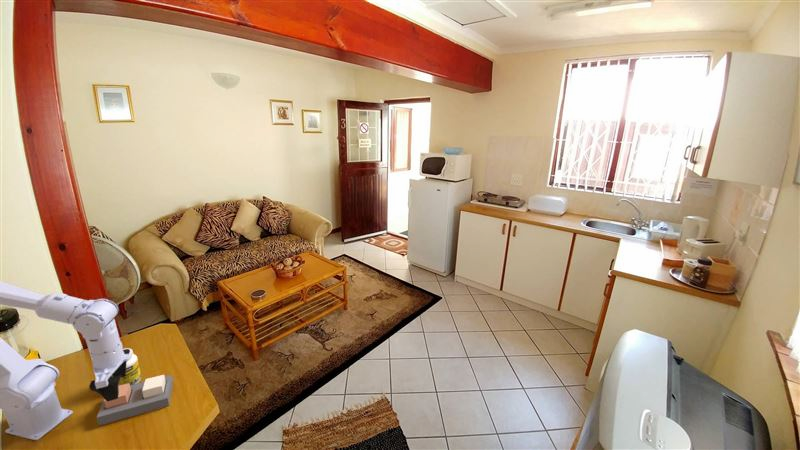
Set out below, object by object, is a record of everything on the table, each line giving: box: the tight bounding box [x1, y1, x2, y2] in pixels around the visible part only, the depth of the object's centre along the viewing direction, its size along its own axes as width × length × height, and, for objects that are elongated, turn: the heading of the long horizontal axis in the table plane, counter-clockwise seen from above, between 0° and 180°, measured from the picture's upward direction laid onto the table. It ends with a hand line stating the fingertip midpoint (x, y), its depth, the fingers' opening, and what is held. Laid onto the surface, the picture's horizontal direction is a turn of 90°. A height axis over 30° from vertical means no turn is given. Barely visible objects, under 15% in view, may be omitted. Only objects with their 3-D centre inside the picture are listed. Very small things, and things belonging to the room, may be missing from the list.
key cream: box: [142, 374, 166, 399], centre depth 88 cm, size 4×4×3 cm
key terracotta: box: [103, 383, 131, 409], centre depth 84 cm, size 4×4×3 cm
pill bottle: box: [111, 347, 142, 386], centre depth 92 cm, size 6×6×11 cm
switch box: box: [96, 374, 174, 427], centre depth 87 cm, size 15×9×3 cm, turn 119°
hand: (116, 387), depth 81 cm, fingers open, 7 cm apart
